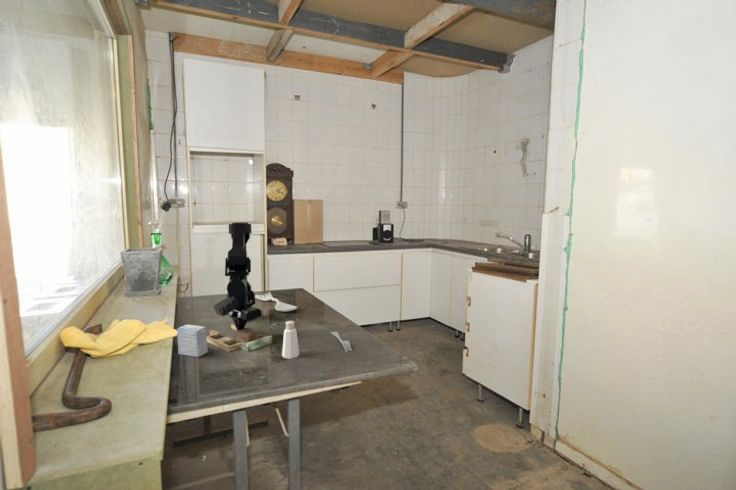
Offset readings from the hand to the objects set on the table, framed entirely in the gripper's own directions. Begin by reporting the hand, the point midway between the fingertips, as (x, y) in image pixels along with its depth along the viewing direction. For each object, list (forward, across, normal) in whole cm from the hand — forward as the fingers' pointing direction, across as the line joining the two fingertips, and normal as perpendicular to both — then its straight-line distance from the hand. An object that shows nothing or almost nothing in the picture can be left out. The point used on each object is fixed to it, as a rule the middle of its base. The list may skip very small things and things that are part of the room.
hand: (240, 333), depth 136 cm
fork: (+3, +29, +21) cm, 36 cm away
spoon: (+2, -25, +34) cm, 42 cm away
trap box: (+2, 0, -2) cm, 3 cm away
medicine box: (+2, 0, -17) cm, 17 cm away
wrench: (+3, +5, +14) cm, 15 cm away
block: (+2, +5, 0) cm, 5 cm away
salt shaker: (+2, +25, +2) cm, 25 cm away
